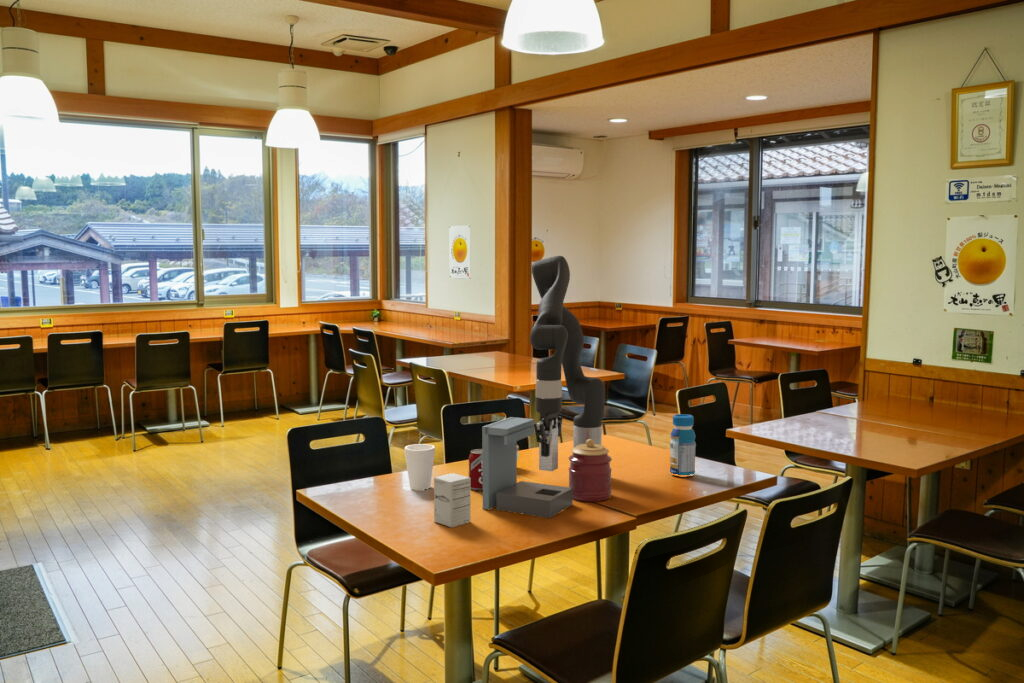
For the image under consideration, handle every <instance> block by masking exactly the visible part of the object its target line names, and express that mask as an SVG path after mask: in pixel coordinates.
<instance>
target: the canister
mask: <svg viewBox="0 0 1024 683" xmlns="http://www.w3.org/2000/svg"><path fill="white" fill-rule="evenodd" d="M609 452H610V450H609V449H608V448H606V447H605V446H604V445H602V444H601V445H598V444H594V440H592V439H588V440H587V441H586V444H580V445H577V446H576V447H575V448H571V453H572V454H571V455H569V456H568V461H569V464H570V465H569V467H568V478H569V479H568V487H569V488H573V498H572V500H576V501H578V502H579V501H580V502H587V501H588V502H589V503H591V502H593V503H595V501H596V502H602V500H603V501H607V500H609V499H610V498H611V497H610V496H612V489H613V488H612V468H611V465H610V464H611V461H612V460H613V459H612V457H611V456H610V455H609V454H608V453H609ZM609 497H610V498H609ZM608 498H609V499H608ZM606 499H607V500H606Z"/></svg>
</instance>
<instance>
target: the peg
mask: <svg viewBox="0 0 1024 683" xmlns="http://www.w3.org/2000/svg"><path fill="white" fill-rule="evenodd" d="M548 431H549V430H548ZM548 431H545V432H548ZM539 436H540V435H539ZM558 468H559V437H558V427H556V428H555V427H554V428H552V429H551V435H550V436H549V456H548V457H543V456H541V443H540V442H538V470H539V471H543V472H544V471H546V472H554V471H555V470H557V469H558Z"/></svg>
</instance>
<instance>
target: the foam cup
mask: <svg viewBox="0 0 1024 683" xmlns="http://www.w3.org/2000/svg"><path fill="white" fill-rule="evenodd" d="M435 454H436V448H435V445H433V444H429V443H414V444H409V445H406V446H405V447H404V456H405V461H406V468H407V475H408V481H409V482H408V483H409V487H410V488H411V490H412V489H415V490H414V491H418V490H420V491H424V490H423V489H427V490H429V489H428V488H430V489H431V484H432V479H433V478H432V476H433V467H434V458H435Z"/></svg>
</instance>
